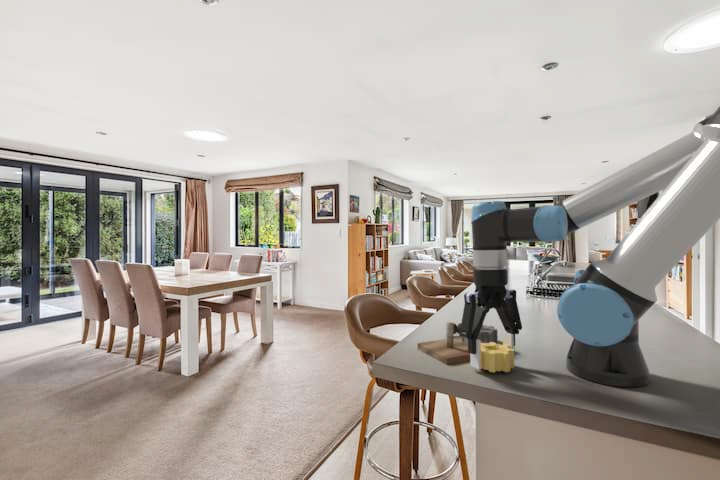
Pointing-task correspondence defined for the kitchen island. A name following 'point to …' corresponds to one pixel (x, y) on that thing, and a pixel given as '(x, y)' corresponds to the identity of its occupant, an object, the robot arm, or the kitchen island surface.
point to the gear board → (456, 345)
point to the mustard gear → (496, 357)
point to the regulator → (456, 328)
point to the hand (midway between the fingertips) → (492, 363)
